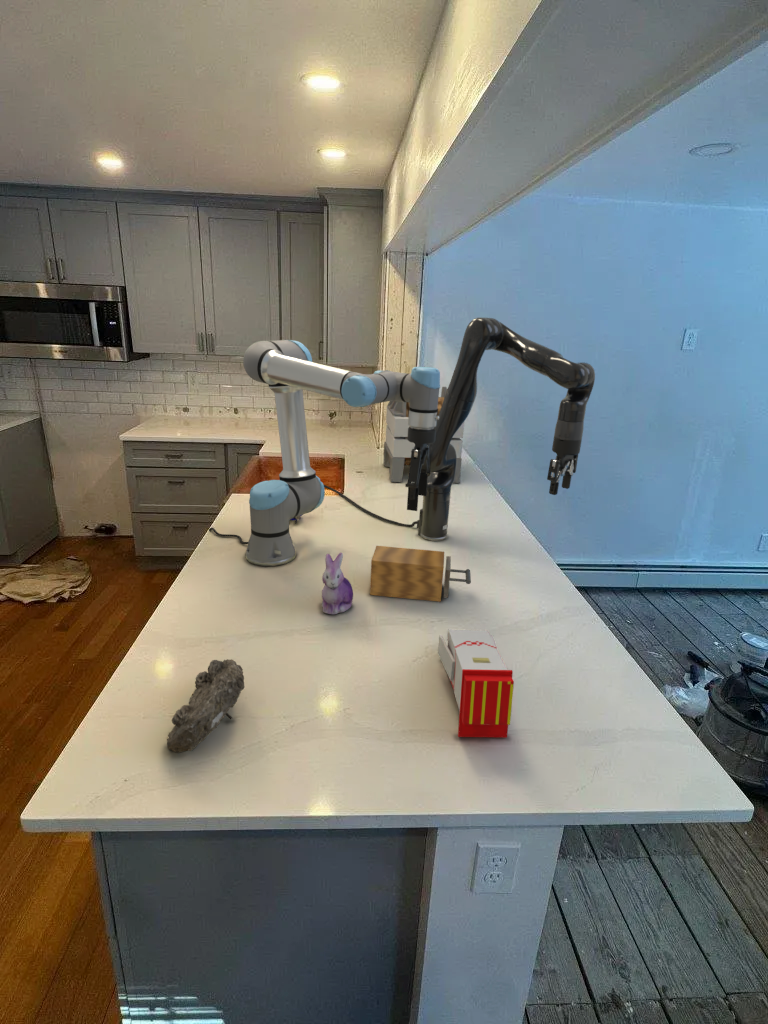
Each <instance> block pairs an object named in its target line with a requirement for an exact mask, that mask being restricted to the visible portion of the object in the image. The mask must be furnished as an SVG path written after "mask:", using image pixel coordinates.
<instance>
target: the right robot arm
mask: <svg viewBox="0 0 768 1024" xmlns="http://www.w3.org/2000/svg"><path fill="white" fill-rule="evenodd" d="M490 350H492V351H497V352H501V353H504V354H507V355H509V356H512V357H513V358H515V359H516V360H517V361H518V362H520V363H521V364H522V365H523V366H525V367H526V368H527V369H530V370H532V371H533V372H536V373H538V374H540V375H542V376H545V377H547V378H549V379H550V380H551V381H552V382H554V383H555V384H557V385H558V386H560V387H562V388H563V389H566V390H567V391H566V395H565V397H563V398H562V399H561V401H560V403H559V407H558V413H557V414H558V415H557V419H556V423H555V428H554V434H553V440H552V447H551V450H552V452H553V453H555V454H556V457H555V459H553V458H551V459H550V461H549V466H548V472H547V477H546V479H547V481H550V483H549V491H548V493H549V494H550V495H553V496H556V495H558V492H559V486H560V480H561V478H562V481H561V488H562V489H566V490H568V489H570V487H571V482H572V477H573V476H574V474H576V472H577V466H578V461H579V459H578V458H579V454H580V452H581V446H582V442H583V441H582V440H583V435H584V426H585V425H584V423H585V419H586V412H587V411H586V410H587V405H588V402H589V400H590V397H591V394H592V391H593V389H594V386H595V380H596V371H595V369H594V367H593V365H591V364H590V363H588V362H585V361H584V362H583V361H582V362H580V361H579V362H574V361H571V360H568V359H566V358H565V357H564V356H563V355H562V353H560V352H558V351H556V350H555V349H552V348H549V347H548V346H545V345H543V344H540V343H538V342H536V341H533V340H531V339H528V338H526V337H524V336H522V335H521V334H518V333H517V332H516V331H514V330H512V329H511V328H510V327H508V326H507V325H506V324H504V323H502V321H499V320H498V319H496V318H494V317H482V316H481V317H475V318H474V319H472V320H471V321H470V322H469V323H468V325H467V326H466V328H465V331H464V334H463V338H462V342H461V346H460V350H459V355H458V358H457V360H456V364H455V367H454V370H453V373H452V376H451V379H450V382H449V384H448V387H447V392H446V395H445V397H444V400H443V404H442V407H441V410H440V412H439V415H438V416H439V419H438V420H437V422H436V427H434V428H435V429H436V438H435V442H434V443H432V444H429V466H430V468H429V469H430V470H431V473H429V474H428V479H427V492H426V496H422V506H421V508H420V509H419V516H418V520H416V521H413V522H412V523H410V524H409V523H408V524H406V523H402V522H398V521H395V520H391V519H388V518H386V517H383V516H380V515H378V514H376V513H373V512H372V511H369V510H368V509H366V508H364V507H363V506H361V505H360V504H358V503H356V502H355V501H354V500H352V499H351V498H349V497H348V496H347V495H345V494H343V493H342V492H340V491H338V489H334V488H332V487H330V486H328V485H326V484H323V485H324V489H327V490H329V491H332V492H334V493H335V494H337V495H339V496H341V497H342V498H344V499H345V500H347V501H348V502H349V503H350V504H352V505H353V506H354V507H357V509H359V510H361V511H362V512H365V513H366V514H367V515H370V516H372V517H374V518H377V519H379V520H381V521H384V522H386V523H389V524H392V525H396V526H399V527H405V528H413V527H414V526H415V525H416V529H417V535H418V536H420V538H421V539H424V540H426V541H432V542H440V541H444V540H446V539H447V538H448V527H449V517H450V516H449V514H450V504H451V494H452V493H451V491H452V486H453V484H454V483H453V481H454V477H455V469H456V460H457V456H456V451H455V448H454V447H453V446H452V445H451V444H450V442H451V439H452V437H453V436H454V434H455V433H456V431H457V430H458V429H459V428H460V426H461V425H462V424H463V422H464V423H465V421H466V419H468V417H469V415H470V414H471V411H472V408H473V406H474V404H475V400H476V397H477V393H478V370H479V365H480V363H481V361H482V358H483V356H484V354H485V351H490Z"/></svg>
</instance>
